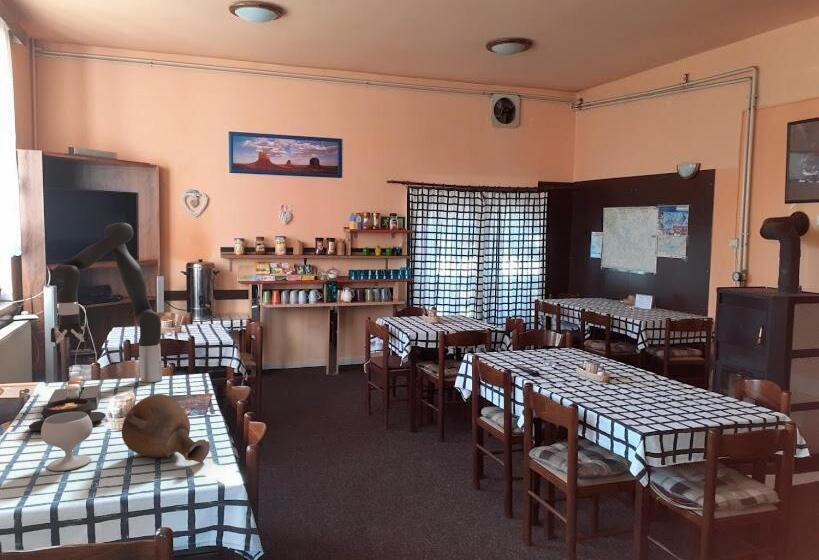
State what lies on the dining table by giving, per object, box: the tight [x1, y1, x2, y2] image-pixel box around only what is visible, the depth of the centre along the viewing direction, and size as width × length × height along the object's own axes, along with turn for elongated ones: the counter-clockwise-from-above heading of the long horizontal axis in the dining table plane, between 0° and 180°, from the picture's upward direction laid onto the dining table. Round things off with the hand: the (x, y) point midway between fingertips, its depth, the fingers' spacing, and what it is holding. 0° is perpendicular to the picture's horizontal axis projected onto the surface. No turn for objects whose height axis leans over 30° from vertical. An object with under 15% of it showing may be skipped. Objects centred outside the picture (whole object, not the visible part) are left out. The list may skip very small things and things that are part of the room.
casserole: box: [28, 398, 107, 431], centre depth 229 cm, size 25×19×8 cm
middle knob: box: [67, 380, 83, 394], centre depth 255 cm, size 5×5×6 cm
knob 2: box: [64, 384, 80, 399], centre depth 248 cm, size 5×5×6 cm
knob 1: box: [69, 375, 84, 390], centre depth 261 cm, size 5×5×6 cm
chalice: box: [40, 412, 94, 472], centre depth 192 cm, size 14×14×15 cm
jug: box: [121, 393, 210, 463], centre depth 197 cm, size 20×20×30 cm
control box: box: [47, 384, 102, 411], centre depth 255 cm, size 17×20×5 cm
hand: (71, 351), depth 261 cm, fingers open, 8 cm apart
